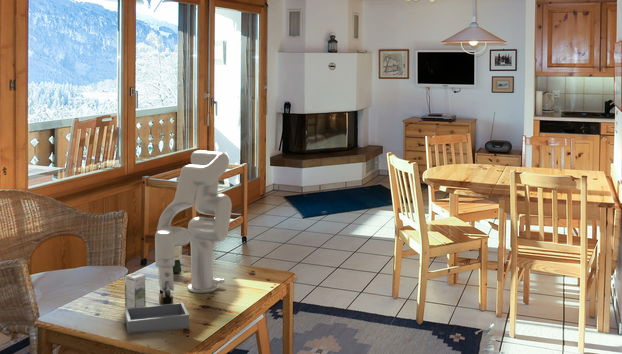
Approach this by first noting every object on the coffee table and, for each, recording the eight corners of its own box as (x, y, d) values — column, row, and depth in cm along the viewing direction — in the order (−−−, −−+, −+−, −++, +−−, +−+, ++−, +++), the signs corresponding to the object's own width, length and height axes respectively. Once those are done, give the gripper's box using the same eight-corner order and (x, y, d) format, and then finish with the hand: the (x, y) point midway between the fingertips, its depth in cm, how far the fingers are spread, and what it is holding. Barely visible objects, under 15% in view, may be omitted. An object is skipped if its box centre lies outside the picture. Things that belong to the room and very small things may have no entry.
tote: (183, 314, 277) (182, 302, 276) (189, 327, 264) (188, 314, 263) (125, 321, 270) (124, 308, 269) (128, 334, 257) (127, 321, 256)
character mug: (186, 274, 328) (185, 247, 326) (171, 276, 324) (171, 249, 322) (177, 268, 337) (176, 241, 335) (163, 270, 333) (162, 243, 331)
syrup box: (136, 306, 285) (135, 271, 283) (146, 309, 282) (145, 274, 280) (125, 310, 281) (123, 275, 278) (135, 313, 278) (134, 277, 275)
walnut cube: (171, 304, 289) (171, 292, 288) (173, 308, 284) (173, 296, 283) (159, 305, 287) (158, 293, 286) (160, 309, 282) (160, 297, 281)
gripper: (177, 266, 275) (178, 309, 278) (171, 255, 291) (171, 295, 294) (158, 268, 273) (158, 310, 275) (152, 256, 289) (153, 297, 292)
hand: (165, 302), depth 285 cm, fingers open, 9 cm apart
